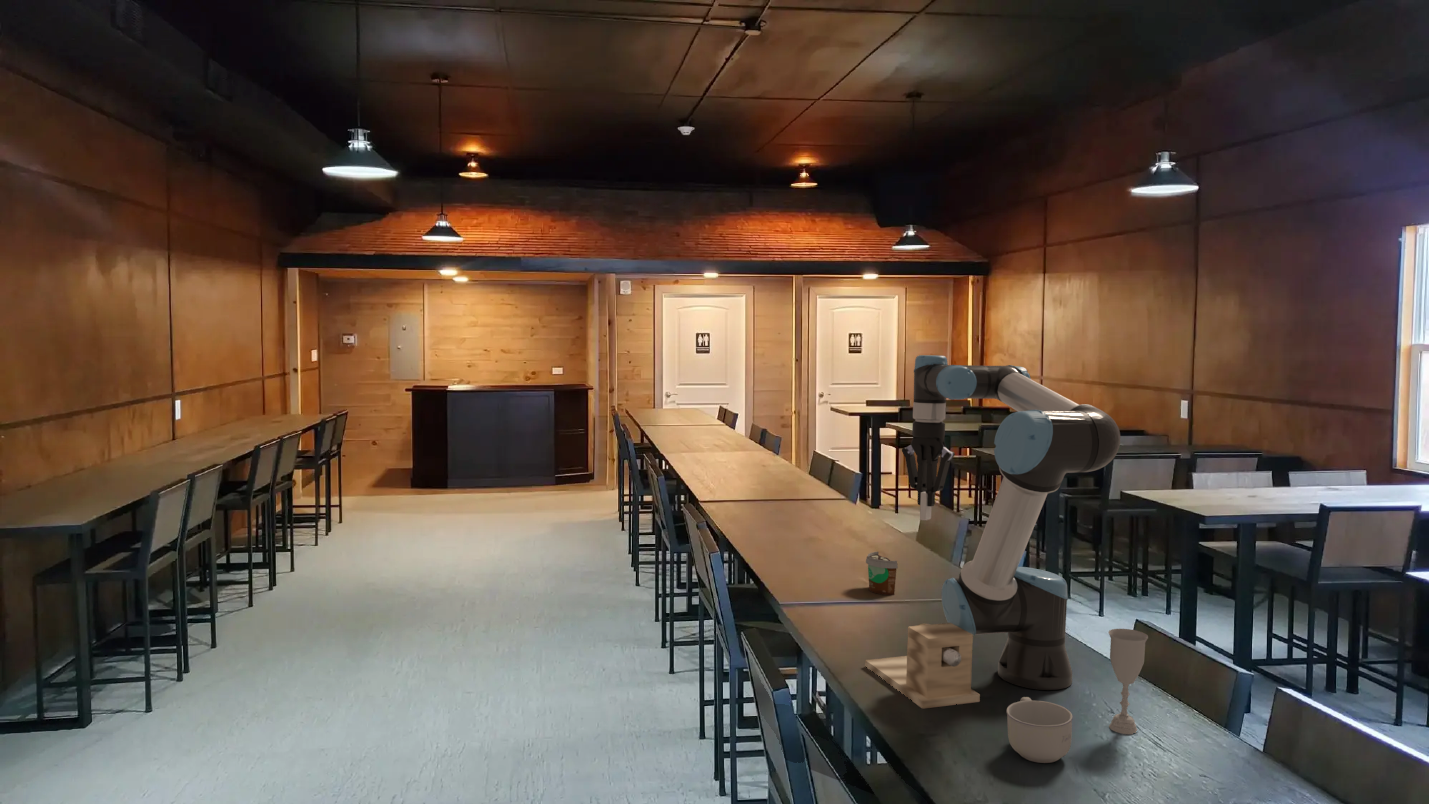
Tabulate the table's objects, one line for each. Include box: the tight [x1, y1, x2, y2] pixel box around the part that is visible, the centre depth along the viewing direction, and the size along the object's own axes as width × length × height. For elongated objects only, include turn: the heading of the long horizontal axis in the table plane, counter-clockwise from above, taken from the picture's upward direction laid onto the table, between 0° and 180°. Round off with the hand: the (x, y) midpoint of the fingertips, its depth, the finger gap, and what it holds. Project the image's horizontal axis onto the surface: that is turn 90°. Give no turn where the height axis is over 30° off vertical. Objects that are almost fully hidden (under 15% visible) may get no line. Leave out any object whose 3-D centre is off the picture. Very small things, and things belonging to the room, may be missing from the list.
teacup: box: [1006, 696, 1073, 764], centre depth 164 cm, size 14×11×8 cm
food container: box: [865, 551, 899, 596], centre depth 266 cm, size 12×6×10 cm, turn 17°
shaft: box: [916, 622, 961, 667], centre depth 189 cm, size 12×7×7 cm, turn 18°
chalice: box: [1107, 628, 1149, 735], centre depth 174 cm, size 7×7×18 cm
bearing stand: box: [864, 622, 981, 709], centre depth 195 cm, size 24×13×14 cm, turn 18°
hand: (925, 519), depth 222 cm, fingers closed
